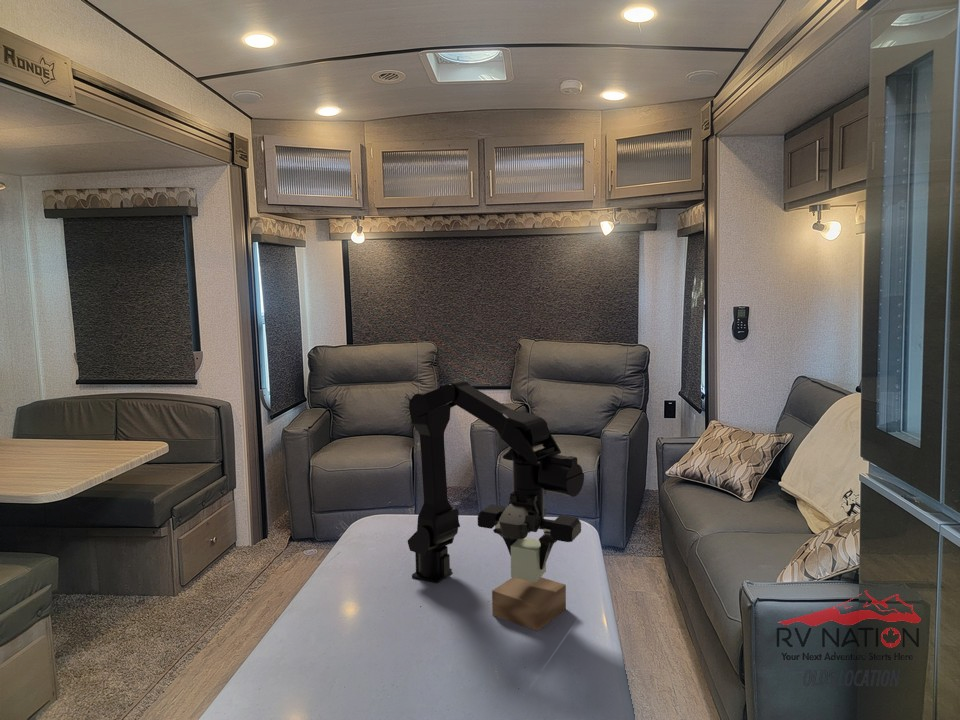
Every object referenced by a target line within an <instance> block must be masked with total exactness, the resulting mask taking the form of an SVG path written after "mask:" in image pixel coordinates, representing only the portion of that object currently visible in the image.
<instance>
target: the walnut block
mask: <svg viewBox="0 0 960 720" xmlns="http://www.w3.org/2000/svg"><path fill="white" fill-rule="evenodd" d="M491 601H492V602H491V603H492V608H491V610H492V616H493V615H494V617H497V618H499V617H500V618H499V619H502V620H504V621H508V622H510V623H514V624H516V625H519V626H521V627H525V628H528V629H530V630H533V631H536V632H539V631H541V629H543V628H544V627H545V626H546V625H548V624H549V623H550V622H551V621H554V619H555V618H556V617H558V616H559V615H560V614H561V613H562V612H564V611H565V610H566V607H567V603H566V602H567V585H566V584H564V583H561V582H558V581H555V580H552V579H549V578H545V577H542V576H541V577H540V578H539V580H538V581H537V582H532V581H527V580H523V579H518V578H513V577H510V578H509V579H507V580H506V581H504V582H503V583H501V584H500V585H498V586H497V587H495V588H494V589H492V590H491Z"/></svg>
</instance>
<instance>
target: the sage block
mask: <svg viewBox="0 0 960 720" xmlns="http://www.w3.org/2000/svg"><path fill="white" fill-rule="evenodd" d="M540 549H541V544H540V541H539V538H538V539H536V538H532V537H526V538H524V539H518V540H517V541H516V542H515V543H514V544H513V545H511V556H510V578H512V577H513V578H518V579H523V580H527V581H532V582H537V581H538V580H539V578H540V577H542V576H543V575H544V574H545V573H546V572H547V563H546V564H545V567H544V568H543V569H542V570H541V569H540Z"/></svg>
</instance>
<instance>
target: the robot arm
mask: <svg viewBox="0 0 960 720" xmlns="http://www.w3.org/2000/svg"><path fill="white" fill-rule="evenodd" d="M455 406H457V407H459V408H460V409H462V410H463V411H465V412H467V413H469V414H470V415H471V416H473V417H475V418H477V419H478V420H480V421H481V422H482V423H485V424H487V425H488V426H489V427H491V428H493V429H494V430H495V431H496V432H497V433H498V435H499V437H500V439H501V440H502V442H503V443H505V445H507V446H508V447H509V448H510V449H509V450H508V451H507V452H506V453H504V454H503V455H502V458H503V460H507V461H511V462H512V491H511V492H510V493H509V495H510V496H509V502H508V505H506V506H505V505H498V504H493V503H490V504H488V506H486V507H485V508H484V509H482V510H480V512H479V513H478V515H477V526H478V527H479V528H484V529H493V528H494V529H493V530H492V531H493V533H495V534H497V535H499V536H500V537H501V538H502V539H503V541H504V543H505V545H506V548H507V550H508V553H509V555H510V557H511V545H513V544H514V543H515V542H516V541H517V540H518V539H524V538H528V537H527V536H528V535H529V534H530V533H531V532H533V533H537V532H538V530H543V534H542V535H541V536H540V538H538V540H539V541H540V544H541V549H540V569H541V570H542V569H543V568H544V567H545V564H546V565H547V561H548V559H549V555H550V554H551V551H552V549H553V546H554V544H555V543H557V542H564V543H572V542H573V541H574V540H575V539H576V538H577V537H578V536H579V535H580V534H581V533H582V522H581V520H580V519H579V518H578V517H576V516H570V515H564V514H563V515H562V514H560V515H558V516H557V517H556V519H548V518H545V516H546V515H547V509H546V508H545V495H546V494H547V491H548V492H551V493H555V494H560V495H564V496H567V497H574V498H575V497H577V496H578V495H579V494H580V492H581V491H582V489H583V486H584V481H585V473H584V472H583V468H582V466H581V465H580V464H578V458H577V457H576V456H572V455H571V456H568V455H567V456H566V455H561V453H562V451H561V449H560V448H559V446H558V444H557V442H556V440H555V438H554V437H553V434H552V433H551V431H550V430H549V429H550V428H549V427H548V422H547V421H546V420H545V419H544V418H543V417H541V416H538V415H536V414H532V413H530V412H525V411H520V410H516V409H515V410H514V409H513V408H512V409H511V408H510V407H507V406H506V405H505V404H502V403H501V402H500V401H497V400H495V398H492V397H491V396H490V395H487V394H486V393H483V392H482V391H481V390H479V389H477V388H476V387H474V386H472V385H470V383H469V382H468V381H465V380H457V381H452V382H448V383H446V384H445V385H443V386H441V387H438V388H436V389H434V390H430V391H427V392H426V391H425V392H420V393H419V392H418V393H416V394H414V395H413V396H412V397H411V399H409V402H408V410H409V414H410V420H411V424H412V426H413V428H414V429H415V430H416V431H417V433H418V434H419V442H420V456H421V457H420V458H421V460H420V461H421V474H422V475H421V476H422V489H423V504H422V507H421V508H420V511H419V514H418V516H417V525H416V531H415V532H414V533H413V534H412V535H411V536H410V538H409V539H407V545H408V549H409V551H411V552H413V553H414V554H415V572H414V573H412V574H411V577H412V579H416V580H422V581H427V582H431V583H435V584H438V583H440V582H441V581H442V580H443V579H444V578H446V577H447V576H448V575H450V574H451V573H452V572H453V568H451V566H450V565H451V564H450V563H451V560H450V554H449V553H448V549H449V548H448V546H449V545H451V544H453V542H454V539H455V537H456V535H457V534H458V532H459V528H460V527H461V524H460V522H459V519H460V518H459V516H460V515H459V509H458V508H457V507H456V508H454V507H453V505H452V504H451V503H450V502H449V499H448V486H447V485H448V484H447V468H446V467H447V465H446V453H445V451H446V449H445V437H444V436H445V435H444V434H445V431H446V429H447V427H448V423H449V422H450V419H451V409H452V408H453V407H455ZM540 447H543V448H540ZM537 448H540V449H538V450H535V449H537Z"/></svg>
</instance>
